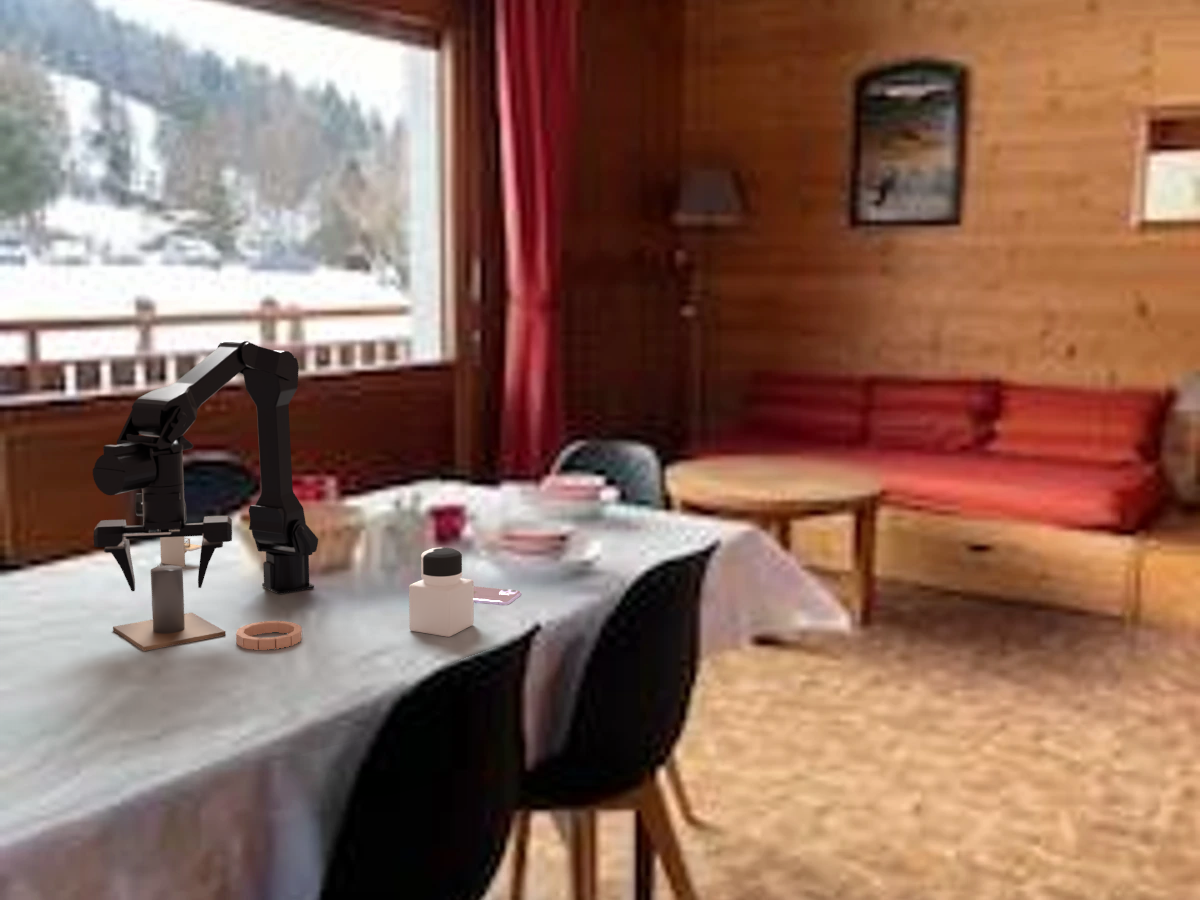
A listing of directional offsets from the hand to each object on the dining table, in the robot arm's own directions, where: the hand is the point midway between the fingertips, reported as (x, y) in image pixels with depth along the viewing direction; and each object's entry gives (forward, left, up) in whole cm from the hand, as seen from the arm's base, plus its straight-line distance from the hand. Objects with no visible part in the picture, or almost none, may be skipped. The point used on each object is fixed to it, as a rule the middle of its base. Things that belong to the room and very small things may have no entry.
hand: (166, 588), depth 186 cm
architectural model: (-17, -39, -7) cm, 43 cm away
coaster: (0, 0, -7) cm, 7 cm away
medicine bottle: (-33, +22, -7) cm, 40 cm away
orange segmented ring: (-10, +12, -7) cm, 17 cm away
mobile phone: (-47, +10, -7) cm, 49 cm away
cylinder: (0, 0, -6) cm, 6 cm away
